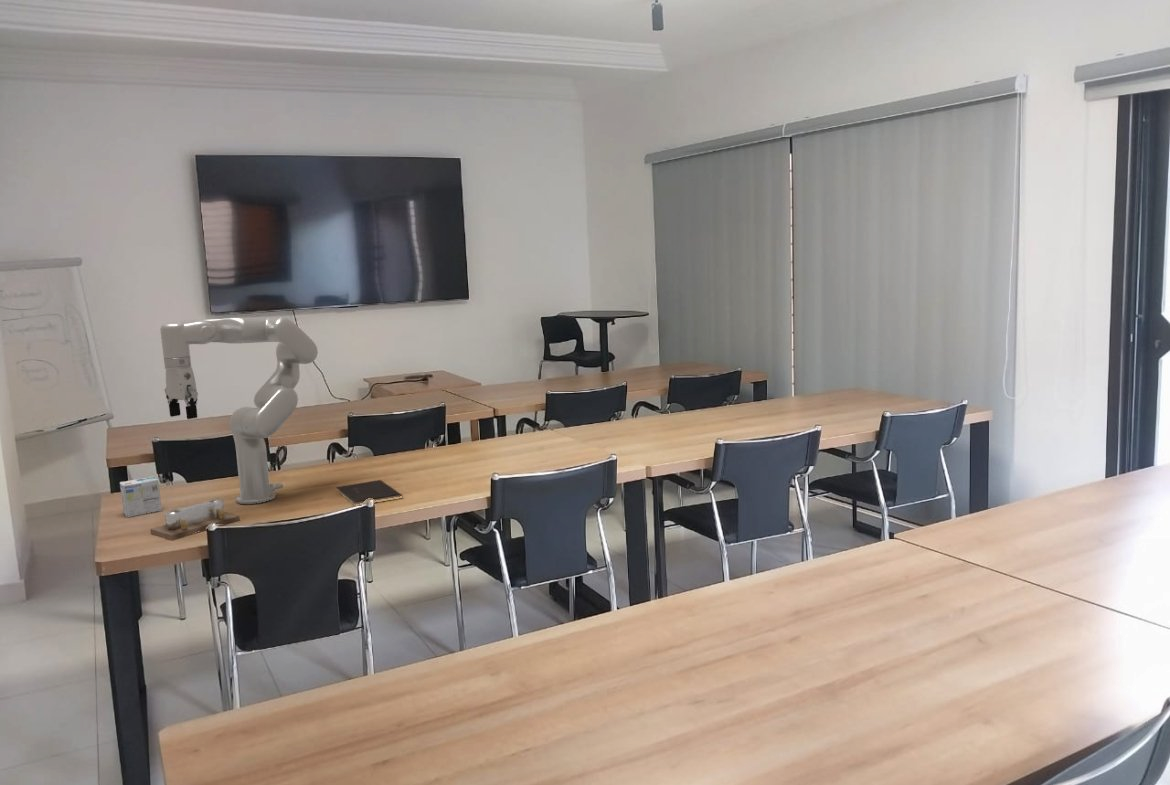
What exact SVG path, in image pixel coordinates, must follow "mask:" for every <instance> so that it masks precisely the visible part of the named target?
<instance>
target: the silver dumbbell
mask: <svg viewBox="0 0 1170 785" xmlns="http://www.w3.org/2000/svg"><path fill="white" fill-rule="evenodd" d="M224 507H225V506H224V500H223V498H214V499H210V500H207V501H203V502H200V503H196V504H192V505H189V506H184V507H182V508H177V509H174V510H173V509H172V510H168V511H165V514H164V515H165V516H166V518H165V524H166V523H167V530H177V529H180V528H181V520H182V519H186V520H187V526H190V525H193V524H197V523H200V522H204V521H207V520H211V519H214V518H218V509H223V511H224V512H225V508H224Z"/></svg>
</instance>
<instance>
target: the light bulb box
mask: <svg viewBox="0 0 1170 785" xmlns="http://www.w3.org/2000/svg"><path fill="white" fill-rule="evenodd" d="M119 489H120V496H121V500H122V509H123V510H122V511H123V514H124V516H126V517H127V518H130V517H131V518H133V517H136V516H141V515H146V513H147V514H151V512H152V513H156V511H157V512H162V511H163V508H162V500H161V493H160V491H161V490H160V485H159V479H158V478H156V477H155V476H154V475H153V476H149V477H144V478H143V477H142V478H136V479H131V480H126V481H120V482H119ZM161 510H162V511H161Z"/></svg>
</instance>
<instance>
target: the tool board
mask: <svg viewBox="0 0 1170 785" xmlns="http://www.w3.org/2000/svg"><path fill="white" fill-rule="evenodd" d="M164 517H165V519H166V515H165V516H164ZM238 521H241V518H240V515H238V514H234V513H231V512H226V511H225V510H224V511H223V509H218V518H214V519H211V520H207V521H204V522H200V523H197V524H193V525H190V526H187V520H186V519H182V520H181V528H180V529H177V530H167V523H166V522H165V524H163V525H160V526H155V527H152V528H150V534H151V535H153V534H154V536H157V537H160V538H163V537H164V539H166V538H167V539H166V540H170V541H174V540H178V539H180V538H184V536H185V537H187V536H186V535H188V536H190V535H189V534H191V535H194V534H193V533H195V532H198V531H202V532H204V531H203V530H205V529H206V527H207V526H208V525H209V524H211V523H216V524H225V525H228V524H232V523H235V522H238ZM205 531H206V530H205ZM198 533H199V532H198ZM195 534H196V533H195ZM173 539H174V540H173Z"/></svg>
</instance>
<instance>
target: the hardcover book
mask: <svg viewBox="0 0 1170 785" xmlns="http://www.w3.org/2000/svg"><path fill="white" fill-rule="evenodd" d="M336 490H337V491H339V492H340V493H341V494H342V496H343V495H344V496H345V497H346V498H347V499H348V500H349V501H348V500H347V499H346V498H345V497H344V496H343V497H344V498H345V499H346V500H347V501H348V502H349V503H351V504H352V503H353V504H355V505H356V504H360V503H363V502H364V501H365V500H366V499H368V498H373V499H374V500H375V501H376V500H381V499H388V498H394V497H400V496H402V497H403V494H402V493H400V492H399V491H397V490H396V489H395V488H393V487H392V486H390V485H389V484H387V483H386V482H385V481H383V480H381V479H378V480H373V481H367V482H360V483H355V484H354V483H352V484H347V485H342V486H336ZM339 492H338V493H339ZM340 493H339V494H340ZM341 494H340V495H341ZM353 504H352V505H353Z"/></svg>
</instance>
